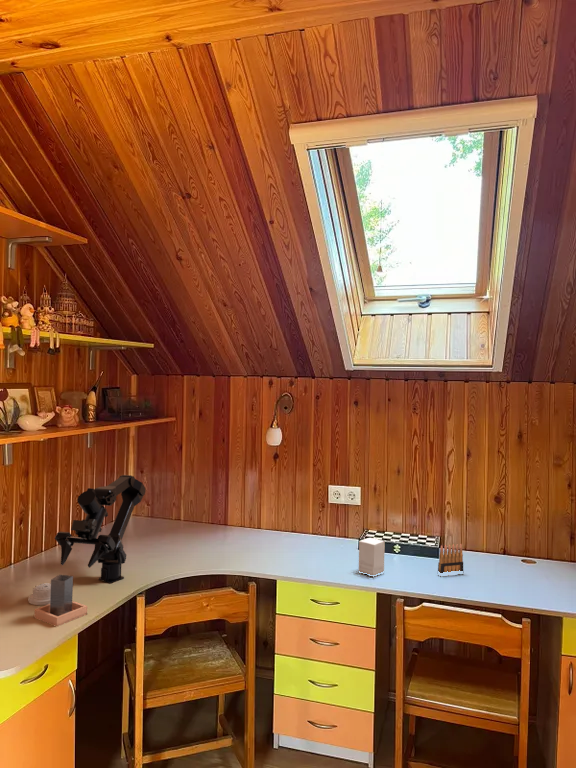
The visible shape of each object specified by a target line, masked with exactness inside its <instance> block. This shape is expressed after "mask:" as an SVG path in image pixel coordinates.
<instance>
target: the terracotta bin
mask: <svg viewBox="0 0 576 768" xmlns="http://www.w3.org/2000/svg"><path fill="white" fill-rule="evenodd" d="M86 615H88V605H85V604H83V603H79V602H77V601H73V600H72V611H70V612H68V613H65V614H63V615H60V616H55V615H53V614H50V604H47V605H42V606H40V607H37V608H34V619H37V620H39V621H41V620H42V621H41V622H44V623H46V622H47V624H49V623H50V624H49V625H51V624H52V625H51V626H54V625H55V627H56V626H57V627H59V625H60V626H62V625H65V624H67V623H70V622H71V621H74V620H76V619H79V618H82V617H85V616H86ZM69 621H70V622H69ZM64 623H65V624H64Z"/></svg>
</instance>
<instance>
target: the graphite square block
mask: <svg viewBox="0 0 576 768" xmlns="http://www.w3.org/2000/svg"><path fill="white" fill-rule="evenodd" d="M50 583H51V597H50V614H53V615H55V616H60V615H63V614H65V613H68V612H70V611H72V601H73V590H74V589H73V588H74V575H66V574H58V575H56V576H55V577H53V578H51V579H50Z"/></svg>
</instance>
